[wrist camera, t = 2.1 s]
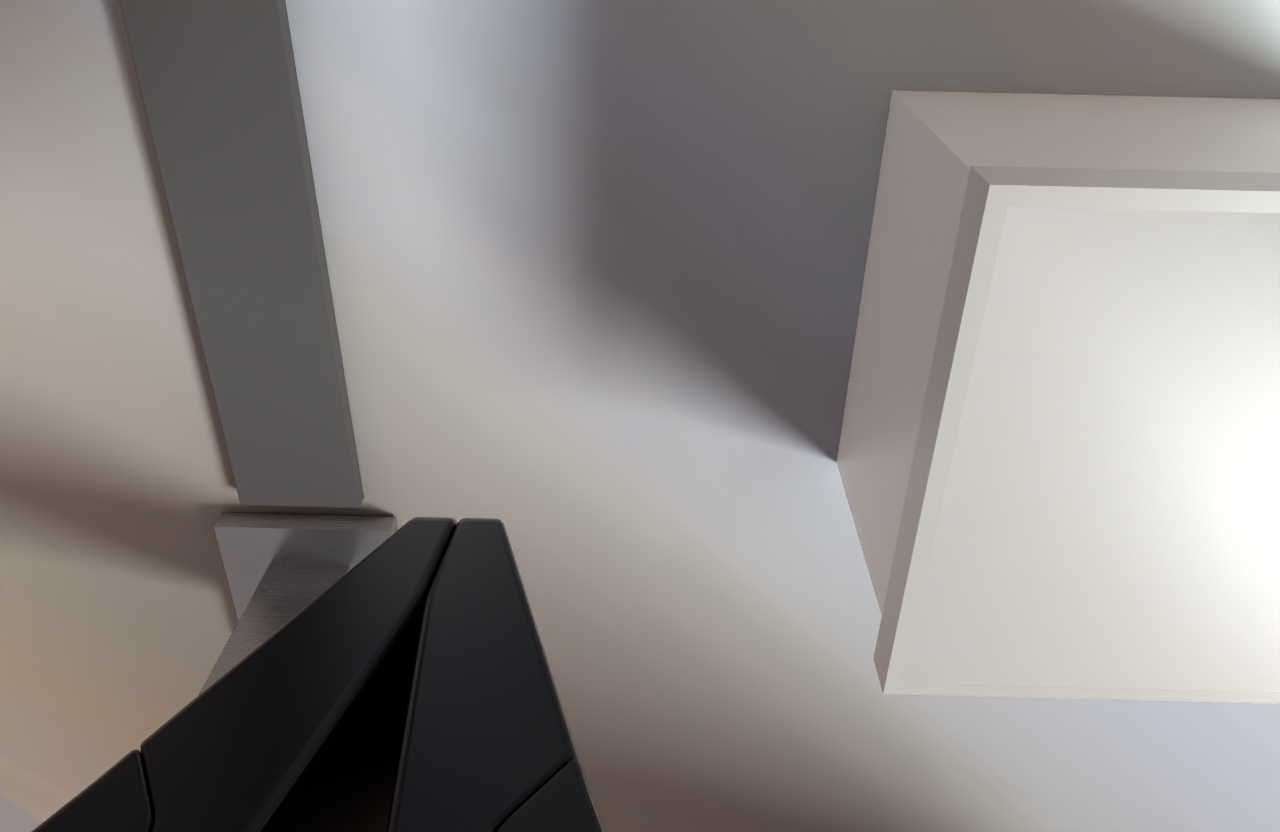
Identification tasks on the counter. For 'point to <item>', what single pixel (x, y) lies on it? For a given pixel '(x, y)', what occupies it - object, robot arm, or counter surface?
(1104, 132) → the base block
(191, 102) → the strip
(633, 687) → the counter surface
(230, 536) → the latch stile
